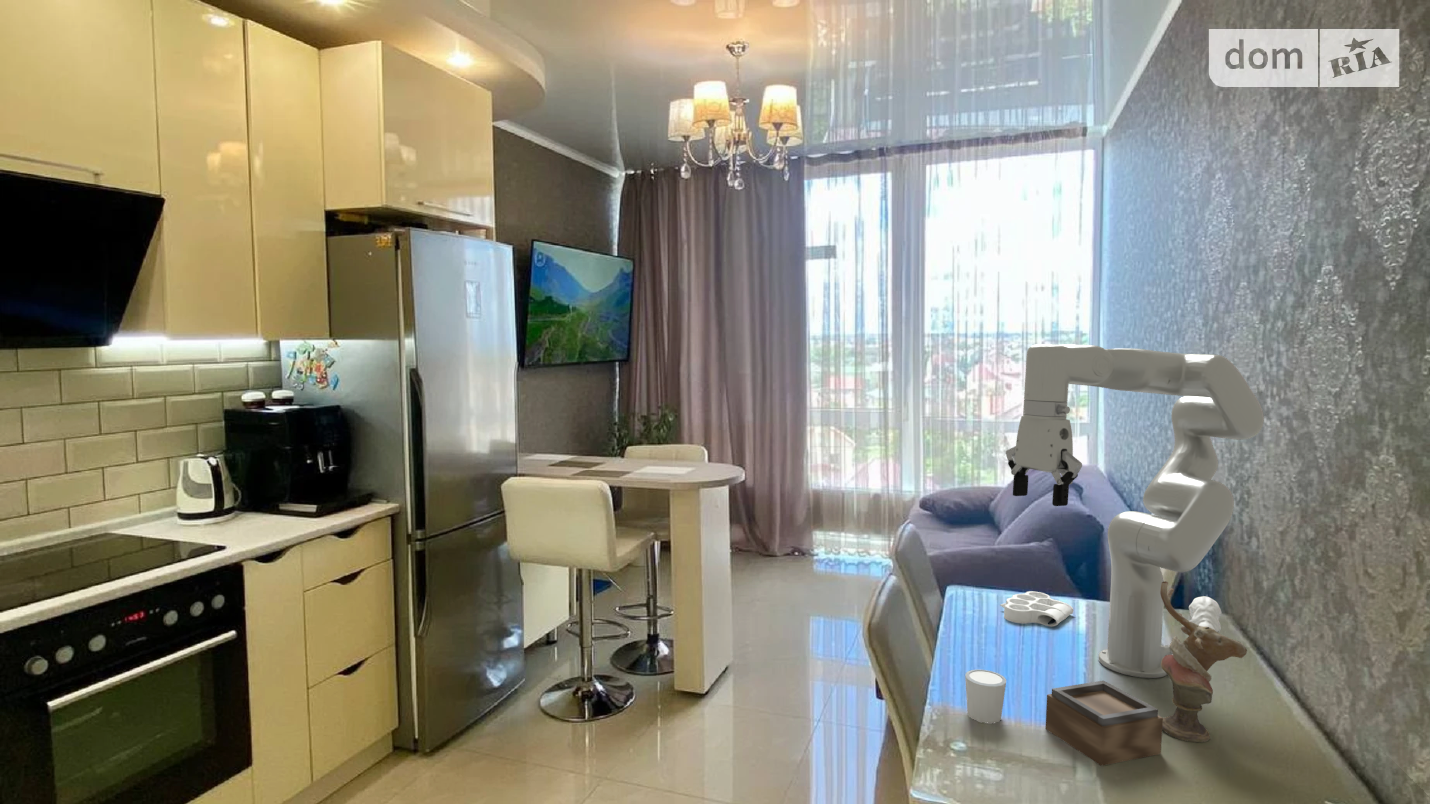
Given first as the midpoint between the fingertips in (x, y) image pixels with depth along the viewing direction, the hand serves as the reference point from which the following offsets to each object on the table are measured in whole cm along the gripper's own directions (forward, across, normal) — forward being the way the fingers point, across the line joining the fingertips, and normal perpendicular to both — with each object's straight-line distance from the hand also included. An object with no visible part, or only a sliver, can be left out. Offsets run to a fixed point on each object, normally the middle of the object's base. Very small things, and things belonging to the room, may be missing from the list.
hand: (1039, 500), depth 145 cm
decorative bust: (+36, -25, -12) cm, 45 cm away
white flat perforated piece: (+36, +29, -31) cm, 56 cm away
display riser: (+36, -21, +5) cm, 42 cm away
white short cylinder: (+36, -7, +17) cm, 41 cm away
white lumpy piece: (+35, +3, -55) cm, 65 cm away
